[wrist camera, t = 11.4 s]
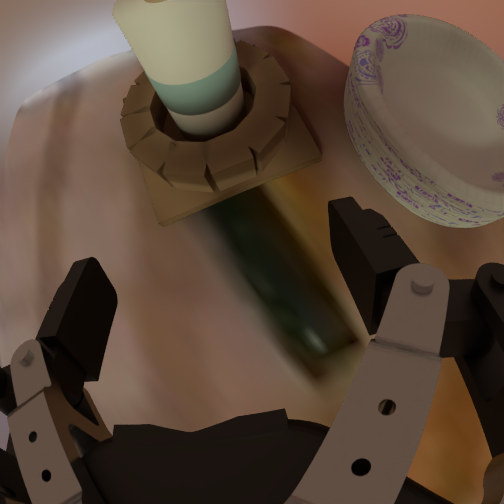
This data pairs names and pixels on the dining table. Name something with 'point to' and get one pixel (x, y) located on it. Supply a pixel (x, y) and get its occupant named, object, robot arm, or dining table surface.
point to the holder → (217, 142)
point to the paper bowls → (429, 118)
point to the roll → (188, 61)
